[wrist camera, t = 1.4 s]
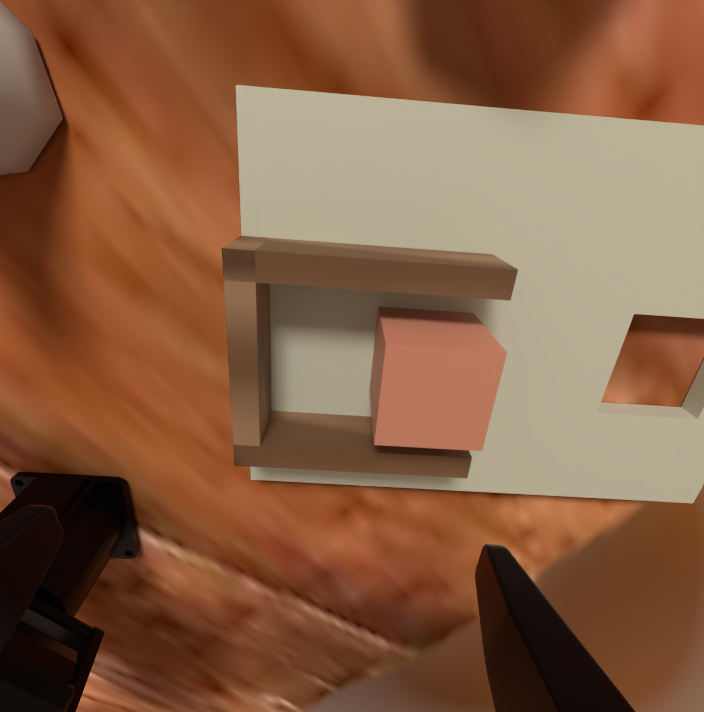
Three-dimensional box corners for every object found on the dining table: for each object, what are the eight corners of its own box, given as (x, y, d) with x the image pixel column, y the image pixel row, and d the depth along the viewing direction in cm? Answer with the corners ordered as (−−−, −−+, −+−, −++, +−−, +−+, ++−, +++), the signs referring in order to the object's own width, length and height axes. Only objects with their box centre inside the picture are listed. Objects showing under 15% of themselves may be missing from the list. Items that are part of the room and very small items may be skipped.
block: (456, 396, 21) (481, 450, 17) (369, 390, 21) (374, 445, 17) (473, 312, 19) (507, 352, 15) (378, 306, 19) (385, 344, 15)
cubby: (452, 440, 22) (467, 478, 19) (248, 428, 22) (234, 465, 19) (492, 254, 18) (518, 269, 15) (241, 235, 18) (221, 248, 15)
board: (678, 488, 25) (693, 503, 24) (255, 465, 24) (250, 479, 23) (859, 143, 17) (894, 142, 16) (243, 90, 16) (235, 84, 15)
